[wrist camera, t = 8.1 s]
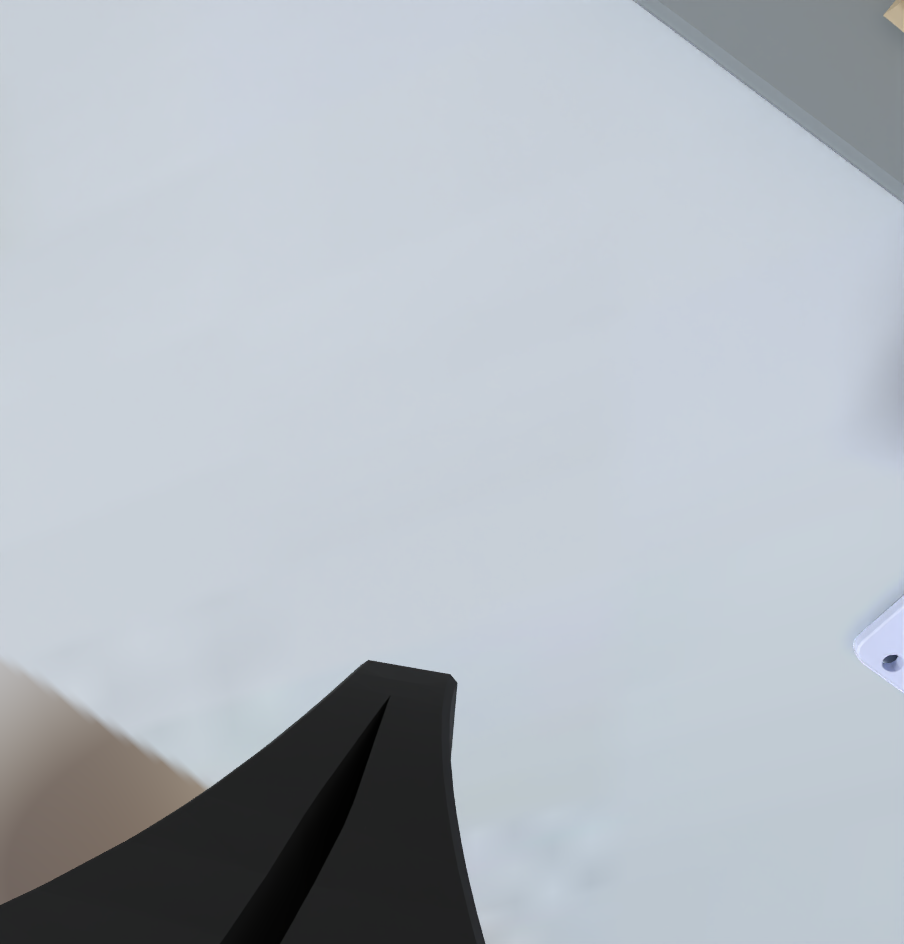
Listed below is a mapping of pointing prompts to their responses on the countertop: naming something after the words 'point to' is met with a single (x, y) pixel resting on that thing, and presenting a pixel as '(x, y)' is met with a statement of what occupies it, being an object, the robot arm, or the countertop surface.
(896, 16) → the sprocket
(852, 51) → the base board
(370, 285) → the countertop surface
